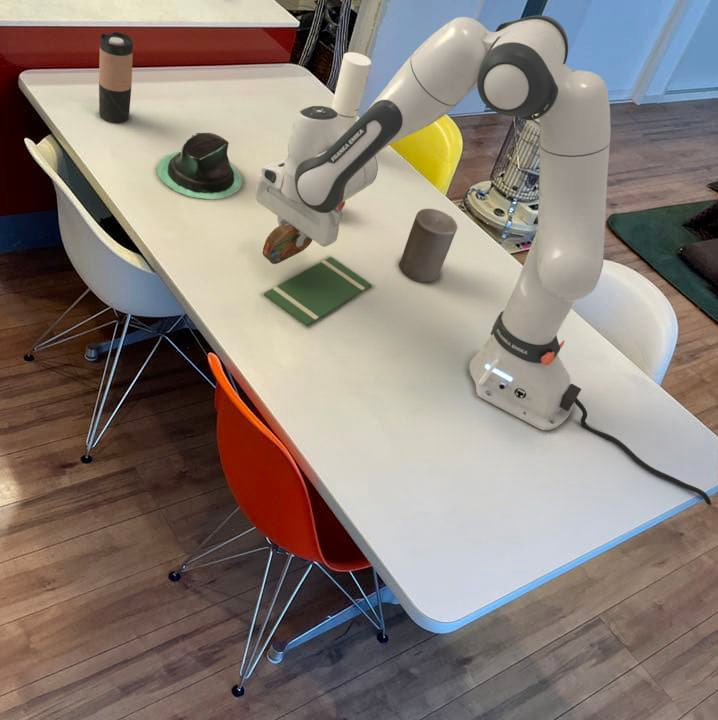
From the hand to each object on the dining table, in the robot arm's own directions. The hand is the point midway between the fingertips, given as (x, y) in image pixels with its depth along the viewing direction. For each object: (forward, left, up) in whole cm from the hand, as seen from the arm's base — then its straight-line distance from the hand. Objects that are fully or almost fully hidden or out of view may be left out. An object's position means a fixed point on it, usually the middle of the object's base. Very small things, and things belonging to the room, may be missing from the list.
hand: (290, 240), depth 164 cm
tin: (+1, 0, -4) cm, 4 cm away
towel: (-10, 0, -7) cm, 12 cm away
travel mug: (+67, -9, -7) cm, 68 cm away
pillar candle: (-19, -26, -7) cm, 33 cm away
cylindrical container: (+28, -52, -7) cm, 60 cm away
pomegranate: (+9, -25, -7) cm, 28 cm away
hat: (+36, -9, -7) cm, 38 cm away
